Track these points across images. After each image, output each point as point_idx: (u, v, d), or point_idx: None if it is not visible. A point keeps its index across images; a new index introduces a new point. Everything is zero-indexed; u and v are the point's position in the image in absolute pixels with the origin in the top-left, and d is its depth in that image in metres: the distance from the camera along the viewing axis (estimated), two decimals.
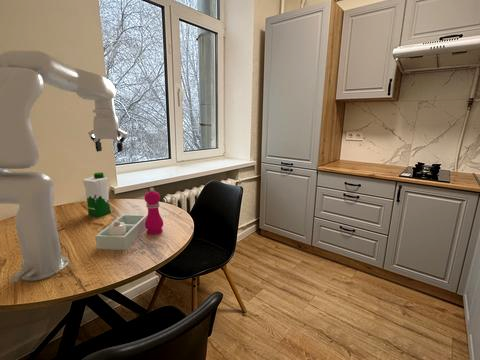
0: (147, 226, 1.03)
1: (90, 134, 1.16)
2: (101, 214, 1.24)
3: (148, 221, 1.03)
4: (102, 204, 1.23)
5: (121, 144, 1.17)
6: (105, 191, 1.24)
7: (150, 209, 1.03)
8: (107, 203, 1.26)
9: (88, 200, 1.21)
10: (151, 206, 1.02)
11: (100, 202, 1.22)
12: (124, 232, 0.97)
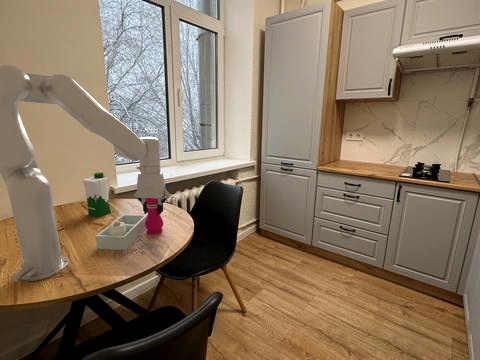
0: (147, 226, 1.03)
1: (136, 196, 1.03)
2: (101, 214, 1.24)
3: (148, 221, 1.03)
4: (102, 204, 1.23)
5: (162, 205, 1.04)
6: (105, 191, 1.24)
7: (150, 209, 1.03)
8: (107, 203, 1.26)
9: (88, 200, 1.21)
10: (151, 206, 1.02)
11: (100, 202, 1.22)
12: (124, 232, 0.97)
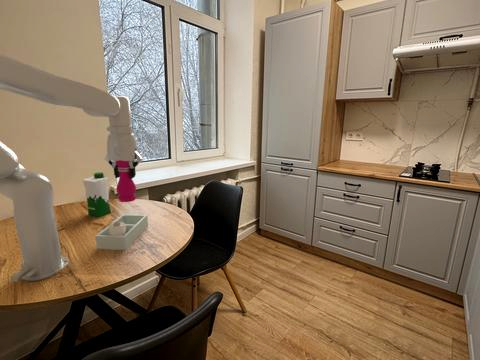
0: (118, 191, 1.00)
1: (107, 159, 1.00)
2: (101, 214, 1.24)
3: (119, 185, 1.00)
4: (102, 204, 1.23)
5: (134, 169, 1.01)
6: (105, 191, 1.24)
7: (121, 172, 0.99)
8: (107, 203, 1.26)
9: (88, 200, 1.21)
10: (122, 169, 0.99)
11: (100, 202, 1.22)
12: (124, 232, 0.97)
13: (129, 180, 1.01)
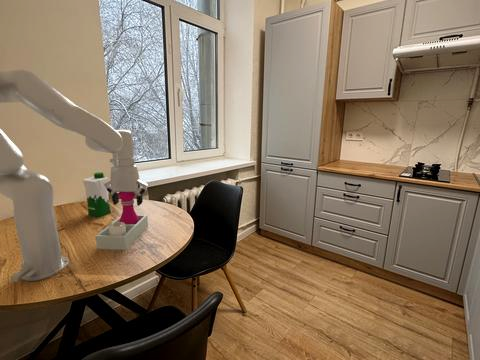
0: None
1: (106, 186, 1.02)
2: (101, 214, 1.24)
3: (123, 218, 1.03)
4: (102, 204, 1.23)
5: (141, 196, 1.04)
6: (105, 191, 1.24)
7: (124, 206, 1.03)
8: (107, 203, 1.26)
9: (88, 200, 1.21)
10: (125, 203, 1.02)
11: (100, 202, 1.22)
12: (124, 232, 0.97)
13: (132, 213, 1.04)
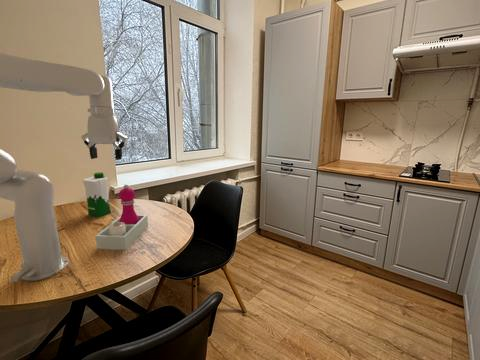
0: None
1: (84, 138, 0.96)
2: (101, 214, 1.24)
3: (123, 218, 1.03)
4: (102, 204, 1.23)
5: (120, 150, 0.97)
6: (105, 191, 1.24)
7: (124, 206, 1.03)
8: (107, 203, 1.26)
9: (88, 200, 1.21)
10: (125, 203, 1.02)
11: (100, 202, 1.22)
12: (124, 232, 0.97)
13: (132, 213, 1.04)
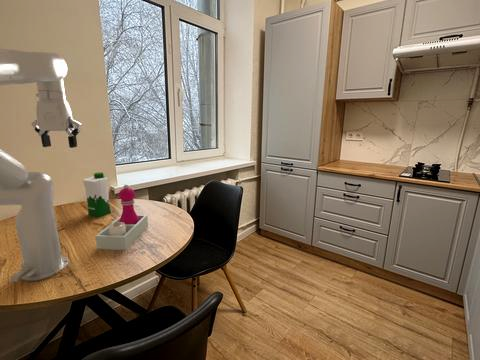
0: None
1: (34, 125, 0.91)
2: (101, 214, 1.24)
3: (123, 218, 1.03)
4: (102, 204, 1.23)
5: (74, 138, 0.92)
6: (105, 191, 1.24)
7: (124, 206, 1.03)
8: (107, 203, 1.26)
9: (88, 200, 1.21)
10: (125, 203, 1.02)
11: (100, 202, 1.22)
12: (124, 232, 0.97)
13: (132, 213, 1.04)
